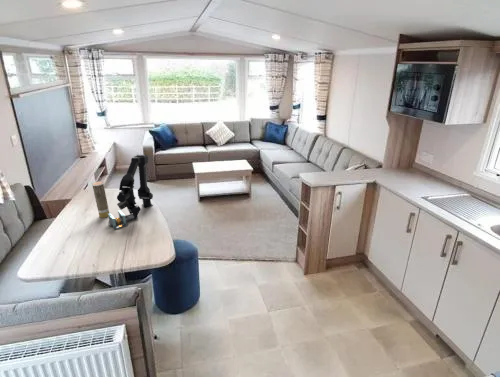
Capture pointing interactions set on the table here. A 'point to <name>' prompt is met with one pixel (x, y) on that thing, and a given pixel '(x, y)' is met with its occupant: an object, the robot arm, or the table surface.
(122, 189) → the robot arm
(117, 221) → the tube
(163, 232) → the table surface
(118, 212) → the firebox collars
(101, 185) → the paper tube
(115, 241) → the table surface
